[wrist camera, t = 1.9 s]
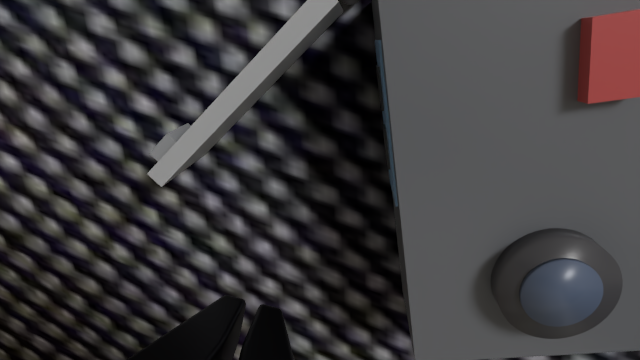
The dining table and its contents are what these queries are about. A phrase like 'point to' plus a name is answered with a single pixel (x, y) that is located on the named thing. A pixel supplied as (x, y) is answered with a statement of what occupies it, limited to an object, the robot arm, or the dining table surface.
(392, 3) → the grey appliance box
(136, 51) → the dining table surface
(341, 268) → the dining table surface
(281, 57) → the side door
